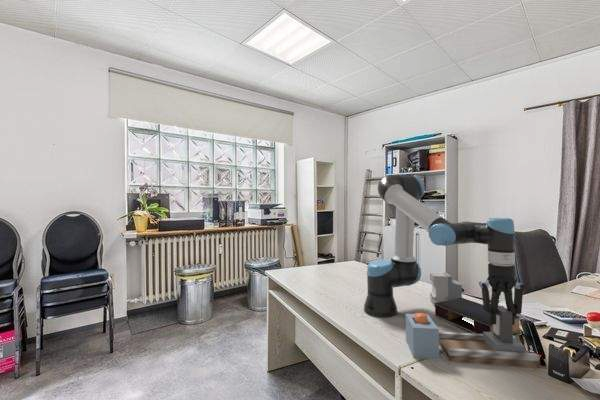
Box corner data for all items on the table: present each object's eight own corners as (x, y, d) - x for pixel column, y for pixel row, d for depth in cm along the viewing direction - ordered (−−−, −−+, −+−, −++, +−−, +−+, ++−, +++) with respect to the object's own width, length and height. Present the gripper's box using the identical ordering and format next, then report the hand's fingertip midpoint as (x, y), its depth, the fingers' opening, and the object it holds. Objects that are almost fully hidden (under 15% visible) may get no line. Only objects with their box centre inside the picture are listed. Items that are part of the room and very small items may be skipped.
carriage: (497, 354, 92) (496, 313, 92) (483, 340, 102) (482, 303, 102) (524, 356, 91) (524, 315, 91) (508, 341, 100) (507, 304, 100)
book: (490, 343, 105) (490, 324, 105) (434, 317, 128) (434, 303, 128) (520, 333, 112) (519, 316, 112) (461, 311, 135) (461, 297, 135)
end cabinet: (413, 357, 95) (413, 327, 95) (406, 340, 107) (405, 313, 107) (439, 359, 94) (438, 328, 94) (428, 341, 106) (428, 314, 106)
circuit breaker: (465, 308, 138) (465, 277, 138) (434, 306, 141) (433, 275, 141) (460, 302, 145) (459, 273, 145) (430, 301, 148) (429, 272, 148)
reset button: (416, 329, 99) (416, 317, 99) (413, 324, 103) (413, 312, 103) (428, 329, 98) (428, 317, 98) (425, 324, 102) (425, 313, 102)
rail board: (450, 361, 92) (449, 350, 92) (436, 340, 106) (436, 331, 106) (540, 368, 88) (540, 356, 88) (513, 345, 102) (513, 335, 102)
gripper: (480, 265, 94) (481, 337, 94) (535, 266, 91) (536, 340, 91) (470, 261, 101) (471, 327, 101) (521, 261, 99) (522, 330, 99)
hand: (502, 333), depth 96 cm, fingers closed on carriage, 3 cm apart
